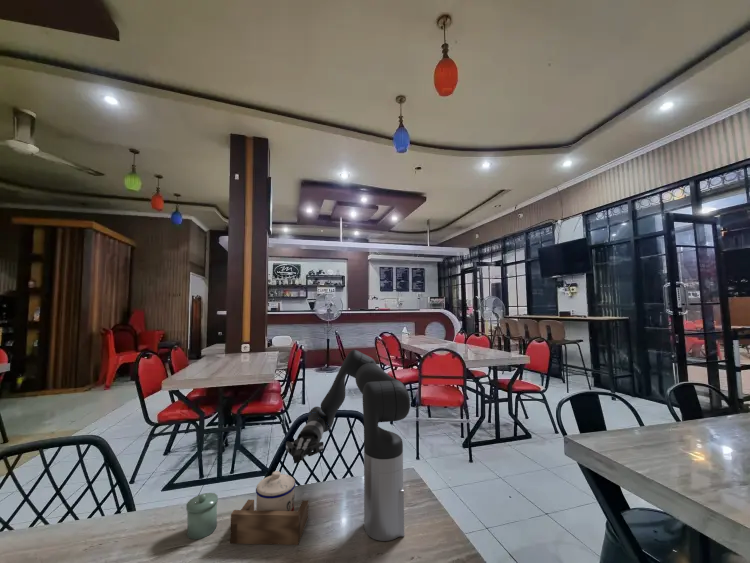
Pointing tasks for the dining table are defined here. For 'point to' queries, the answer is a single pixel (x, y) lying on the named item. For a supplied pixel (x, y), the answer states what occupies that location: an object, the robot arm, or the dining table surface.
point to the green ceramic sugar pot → (201, 515)
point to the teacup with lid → (276, 493)
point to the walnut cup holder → (268, 525)
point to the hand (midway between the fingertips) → (297, 458)
